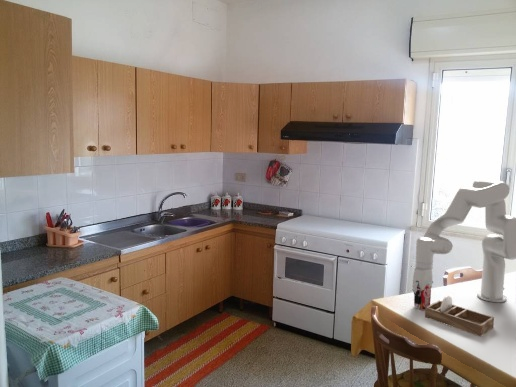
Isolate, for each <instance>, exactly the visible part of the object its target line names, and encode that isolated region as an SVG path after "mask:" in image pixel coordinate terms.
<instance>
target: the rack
mask: <svg viewBox="0 0 516 387" xmlns="http://www.w3.org/2000/svg"><path fill="white" fill-rule="evenodd" d="M442 301H443V300H437V301H435V302H433V303H432V304H431V303H430V305H429V306H427V307H425V310H424V318H427V319H430V320H432V321H436V322H438V323H440V324H444V325H446V324H447V326H449V325H450V327H452V326H453V328H455V329H459V330H461V331H465V332H467V333H470V334H473V335H476V336H479V337H483V335H485V334H487V333H488V332H489V331H490V330H492V329H493V328H494V325H495V317H493V316H492V315H488V314H485V313H481V312H478V311H474V310H473V309H472V310H471V309H469V308H468V309H467V308H465V307H462V306H458V305H455V304H452V308H451V309H449V310H448V311H446V312H444V313H443V312H441V311H440V308H441V303H442Z"/></svg>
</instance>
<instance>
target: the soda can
mask: <svg viewBox="0 0 516 387" xmlns="http://www.w3.org/2000/svg"><path fill="white" fill-rule="evenodd" d="M418 289H420V288H419V287H418ZM417 291H418V292H419V290H417ZM413 295H414V294H413ZM431 295H432V287H430V284H429V285H426V287H425V289H424V290H422V293H421V296H422V298H421V305H419V304H416V303H414V302H413V305H414V308H416V309H417V310H419V311H425V307H427V306H429V305H431V299H432V298H431ZM414 296H415V295H414Z"/></svg>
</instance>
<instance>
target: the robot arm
mask: <svg viewBox="0 0 516 387" xmlns="http://www.w3.org/2000/svg"><path fill="white" fill-rule="evenodd" d="M509 194H510V186H509V185H508V184H507V183H506V182H504V181H501V180H493V179H486V178H478V179H475V180H474V181H473V183H472V187H471V186H463V187H460V188H459V189H458V191H457V192H456V194H455V195H454V197H453V199H452V201H451V203H450V205H449V207H448V208H447V210H446V211H445V213H444V214H443V215H440V217H438V218H437V219H436V220H434V221H433V222H432V223H430V225H429V226H428V228H427V229H426V232H425V233H424V235H423V237H419V238H418V237H417V239H416V243H415V244H416V247H415V264H414V265H415V266H414V267H415V268H414V271H413V274H412V284H411V285H412V291H413V295H415V296H414V297H413V304H414V303H416V304H419V305H421V298H422V296H421V293H422V290H424V289H425V287H426V285H429V284H430V287H431V288H432V287H433V283H434V281H433V269H434V255H447V254H449V253H451V251H452V250H453V243H452V241H451V240H450V239H448V238H446V237H443V236H441V234H442V232H443V231H444V230H446V229H448V228H449V227H453V226H457V225H459V224H460V225H461V224H462V223H464V222H465V219H466V218H467V216H468V215H469V213H470V211H471V209H472V208H477V209H481V208H484V210H485V214H484V215H485V217H484V218H485V220H484V222H485V228H486V230H487V231H489V232H491V234H488V235H485V236H484V238H483V239H482V242H481V249H482V256H483V257H482V258H483V261H482V270H481V271H482V272H481V273H482V274H481V286H480V291H478V292H476V293H477V297H478V298H479V299H481V300H483V301H486V302H491V303H503V302H506V301H507V296H506V295H505V294H504V290H505V287H504V283H505V272H506V261H505V259H506V260H511V261H513V260H516V217H515V216H512V215H508V214H507V209H506V200H505V199H506V198H507V197H508V196H509ZM418 287H419V288H420V289H418ZM417 290H419V292H418V291H417Z"/></svg>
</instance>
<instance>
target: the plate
mask: <svg viewBox="0 0 516 387" xmlns="http://www.w3.org/2000/svg"><path fill="white" fill-rule="evenodd" d="M452 299H453V298H452V297H451V296H450V295H446V296H444V297H443V299H442V300H441V301H442V303H441V308H440V311H441V312H443V313H444V312H446V311H448V310H449V309H451V308H452V305H453V300H452Z"/></svg>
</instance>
